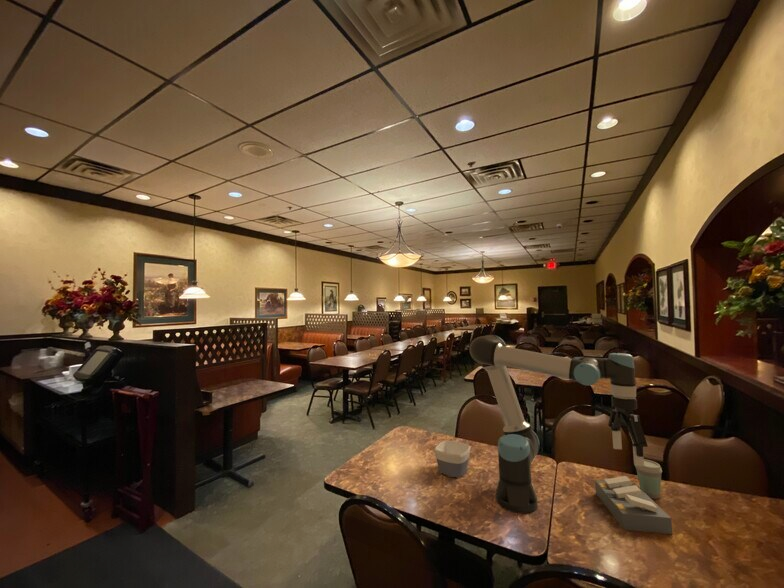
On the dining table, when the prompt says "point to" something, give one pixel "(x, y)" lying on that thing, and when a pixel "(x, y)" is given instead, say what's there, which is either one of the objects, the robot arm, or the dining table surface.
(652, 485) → the coffee cup
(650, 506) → the rocker
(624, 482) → the rocker
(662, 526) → the switch unit
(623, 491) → the rocker
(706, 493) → the dining table surface
